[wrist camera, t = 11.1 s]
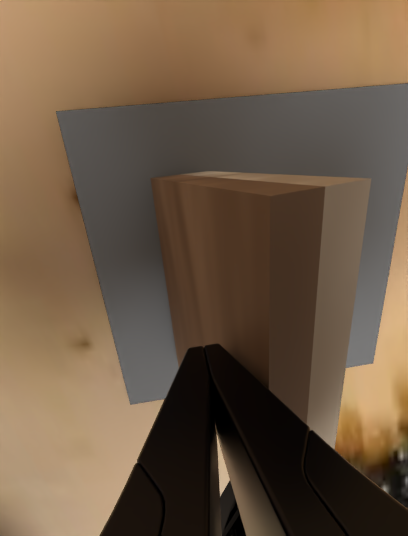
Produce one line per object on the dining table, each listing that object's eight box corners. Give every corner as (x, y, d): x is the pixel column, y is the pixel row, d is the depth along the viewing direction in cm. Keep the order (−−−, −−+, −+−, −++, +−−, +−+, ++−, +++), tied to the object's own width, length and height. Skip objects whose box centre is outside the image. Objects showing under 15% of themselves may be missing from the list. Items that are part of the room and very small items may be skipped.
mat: (131, 398, 16) (130, 404, 15) (59, 113, 10) (55, 111, 10) (368, 358, 17) (373, 363, 16) (414, 84, 12) (422, 82, 11)
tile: (178, 369, 14) (268, 521, 8) (150, 178, 10) (270, 196, 5) (221, 352, 15) (330, 478, 9) (208, 171, 11) (371, 178, 5)
